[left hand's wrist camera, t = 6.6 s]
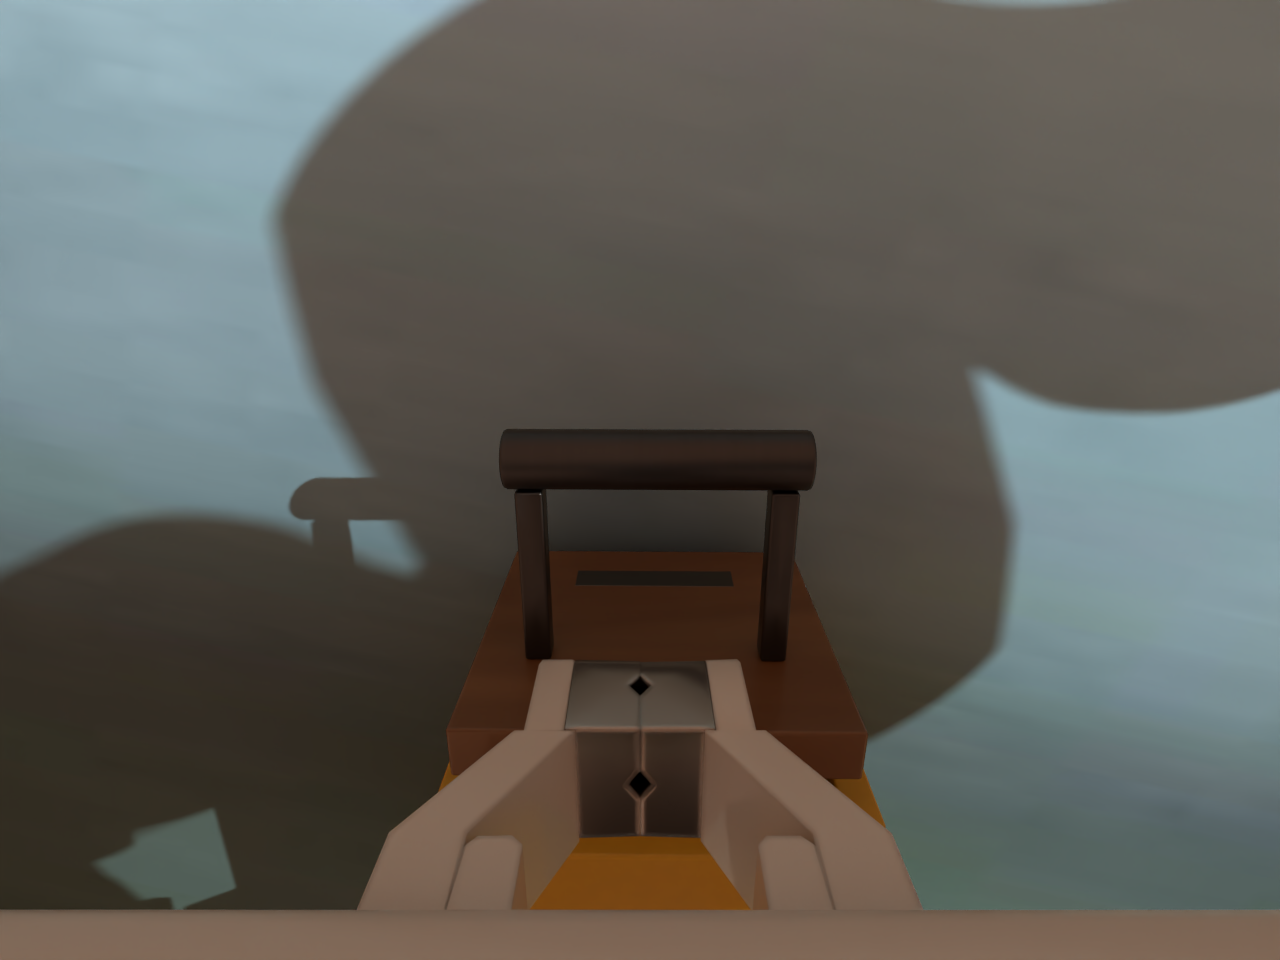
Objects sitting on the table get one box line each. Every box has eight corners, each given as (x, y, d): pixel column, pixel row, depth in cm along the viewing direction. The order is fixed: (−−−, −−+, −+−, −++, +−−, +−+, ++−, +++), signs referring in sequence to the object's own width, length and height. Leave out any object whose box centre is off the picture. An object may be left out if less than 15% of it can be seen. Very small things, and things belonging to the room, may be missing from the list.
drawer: (504, 374, 19) (412, 473, 12) (807, 375, 19) (907, 475, 12) (538, 869, 26) (494, 1133, 19) (764, 872, 26) (811, 1138, 18)
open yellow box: (507, 599, 23) (412, 854, 14) (799, 601, 23) (900, 859, 14) (531, 912, 28) (473, 1250, 19) (770, 915, 28) (830, 1256, 19)
